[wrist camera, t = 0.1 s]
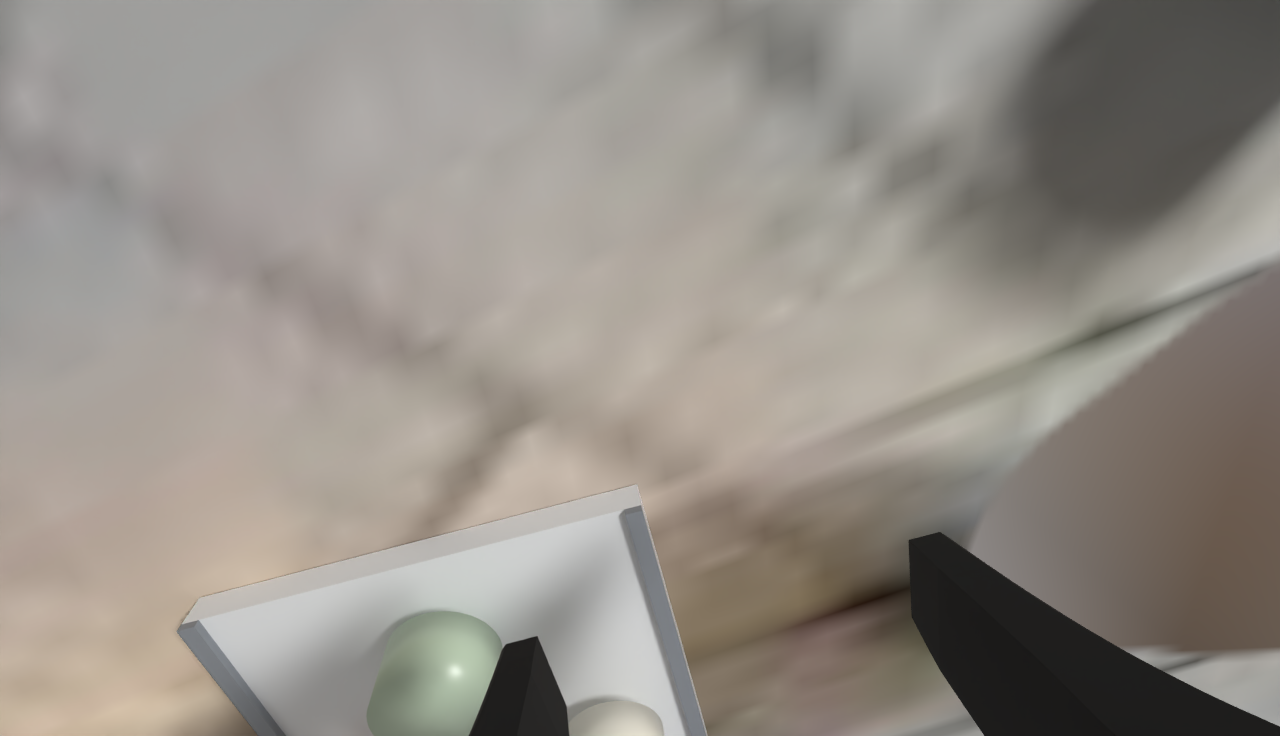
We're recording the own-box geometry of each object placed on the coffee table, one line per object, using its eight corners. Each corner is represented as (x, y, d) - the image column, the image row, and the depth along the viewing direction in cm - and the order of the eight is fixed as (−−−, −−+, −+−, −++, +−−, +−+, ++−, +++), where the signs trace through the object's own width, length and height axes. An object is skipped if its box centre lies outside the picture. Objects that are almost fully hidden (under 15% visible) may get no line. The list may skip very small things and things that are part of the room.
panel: (705, 728, 29) (713, 760, 27) (362, 819, 29) (352, 856, 27) (636, 484, 23) (642, 510, 21) (199, 597, 22) (176, 631, 21)
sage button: (517, 676, 23) (513, 739, 21) (411, 704, 23) (396, 770, 21) (481, 598, 21) (473, 658, 19) (366, 628, 21) (344, 692, 19)
